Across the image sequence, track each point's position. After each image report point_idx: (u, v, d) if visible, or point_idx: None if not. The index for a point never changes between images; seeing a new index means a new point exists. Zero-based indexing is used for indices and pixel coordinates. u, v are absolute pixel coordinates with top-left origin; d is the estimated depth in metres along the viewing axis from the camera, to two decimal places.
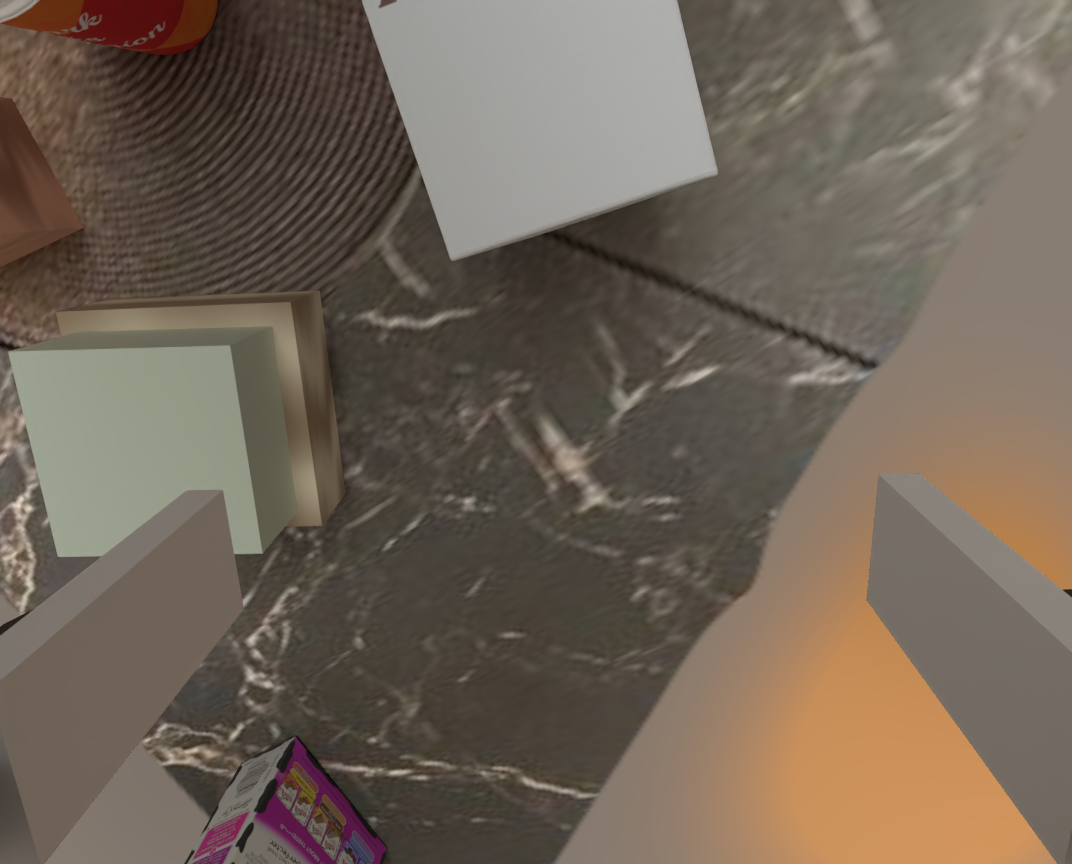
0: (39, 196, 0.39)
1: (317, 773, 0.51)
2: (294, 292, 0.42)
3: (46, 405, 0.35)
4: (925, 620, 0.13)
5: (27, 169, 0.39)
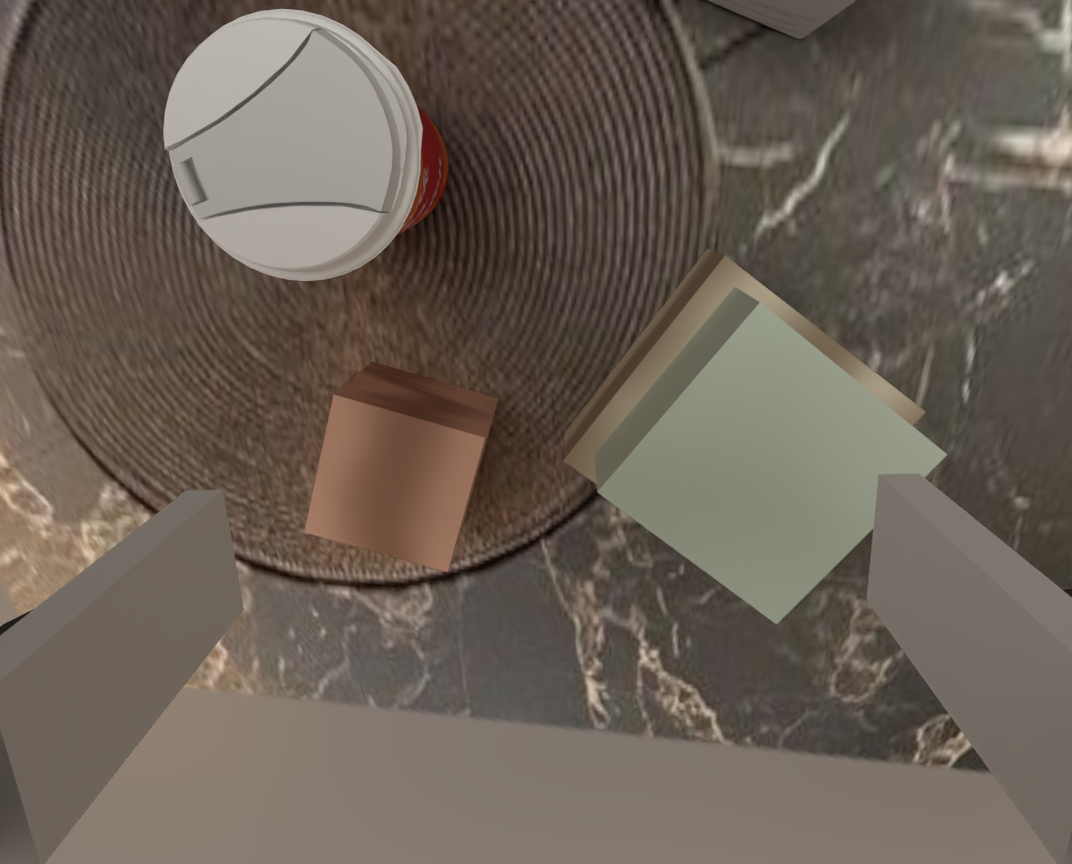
0: (461, 399, 0.39)
1: None
2: (692, 270, 0.38)
3: (661, 506, 0.32)
4: (925, 620, 0.13)
5: (435, 390, 0.39)
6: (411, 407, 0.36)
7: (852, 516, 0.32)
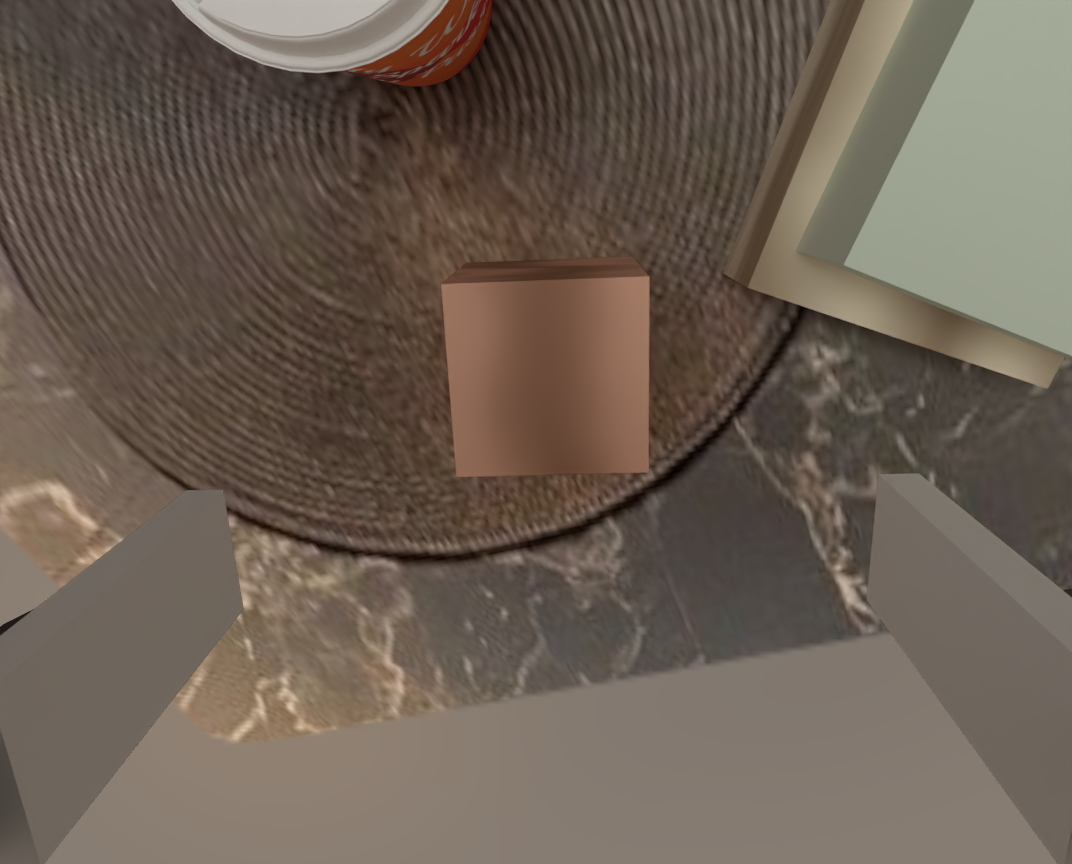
0: (590, 263, 0.30)
1: None
2: None
3: (939, 257, 0.23)
4: (925, 620, 0.13)
5: (555, 264, 0.31)
6: (540, 275, 0.27)
7: None
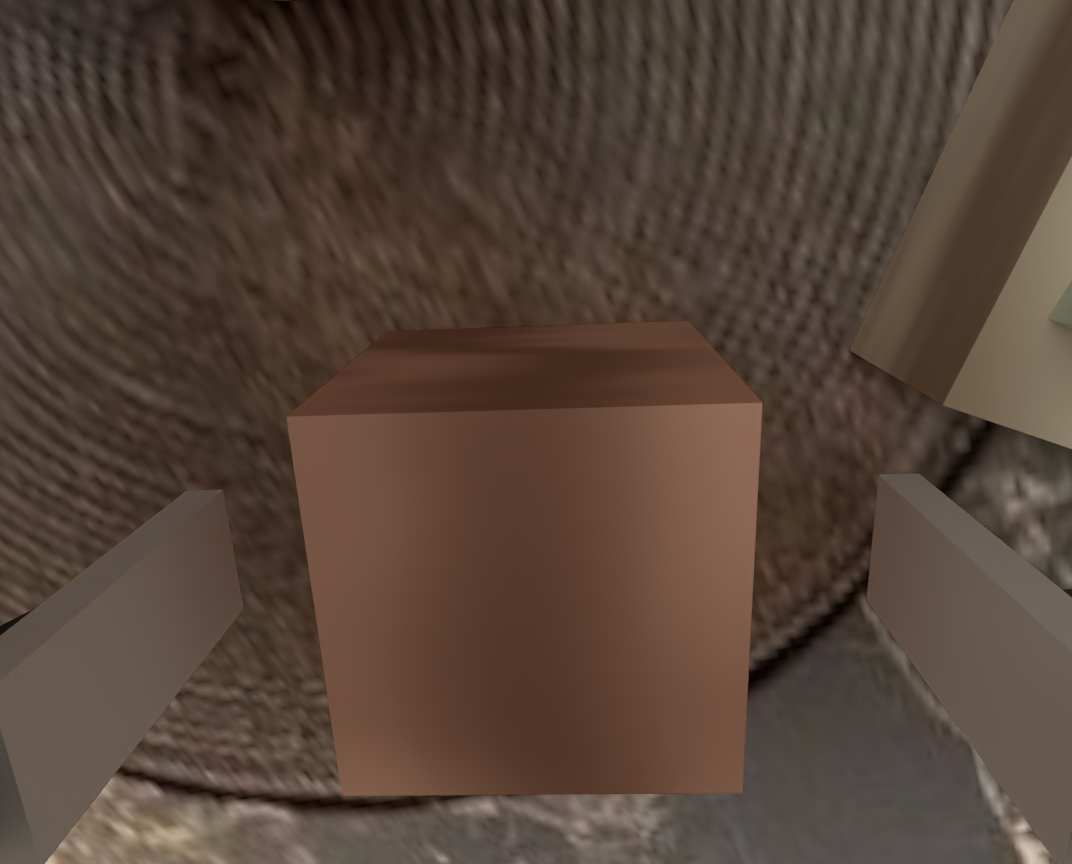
0: (617, 342, 0.16)
1: None
2: None
3: None
4: (925, 620, 0.13)
5: (548, 342, 0.16)
6: (513, 389, 0.12)
7: None
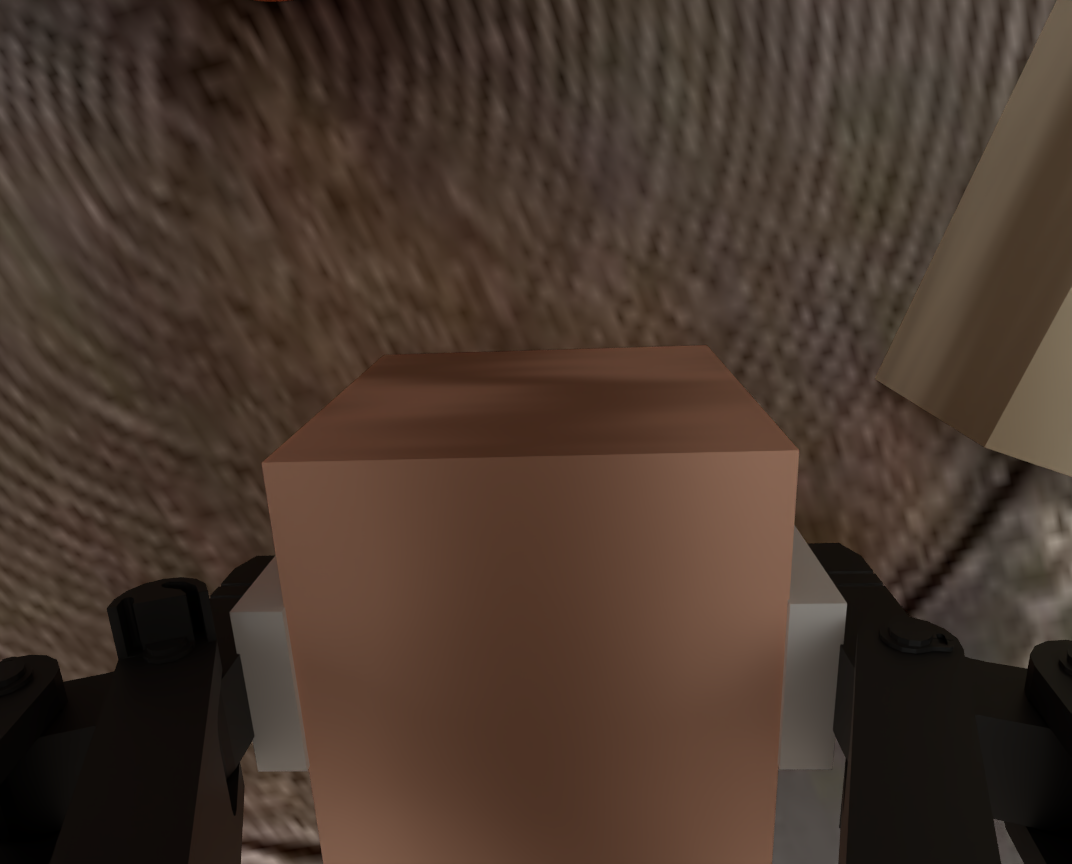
0: (630, 370, 0.14)
1: None
2: None
3: None
4: None
5: (556, 370, 0.15)
6: (518, 429, 0.11)
7: None
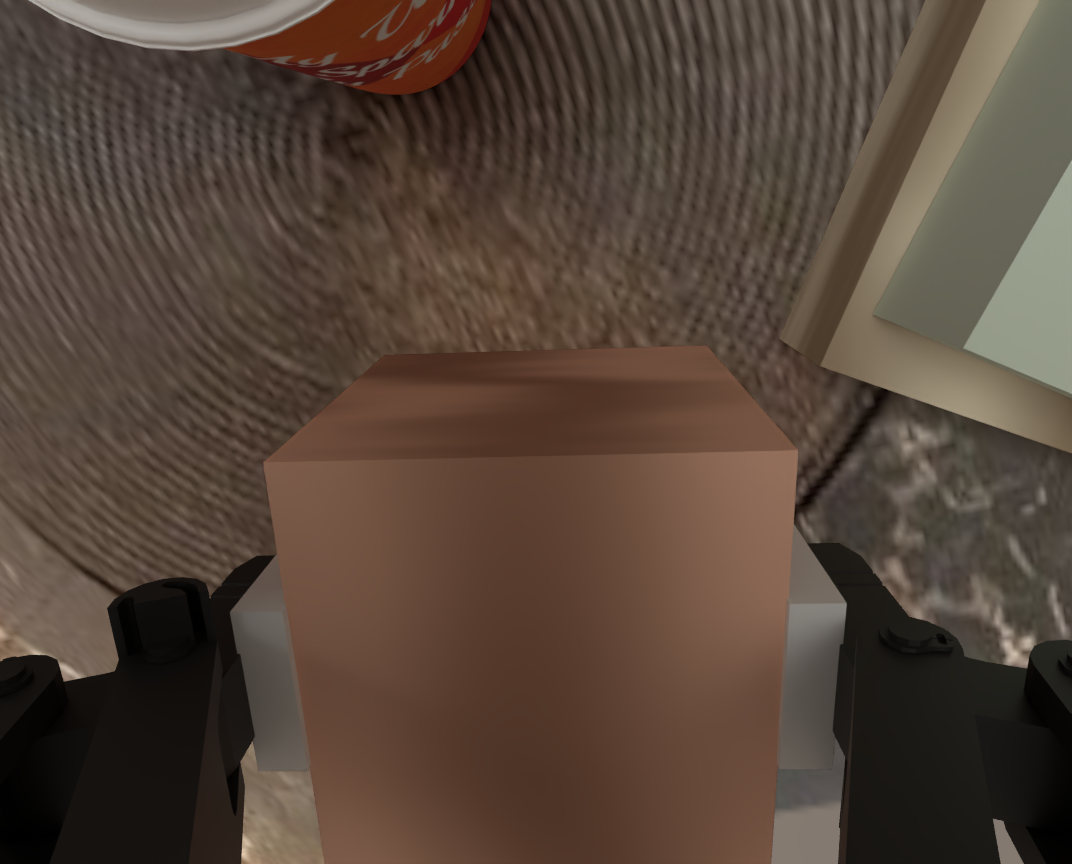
0: (630, 370, 0.15)
1: None
2: None
3: None
4: None
5: (556, 371, 0.15)
6: (518, 429, 0.11)
7: None
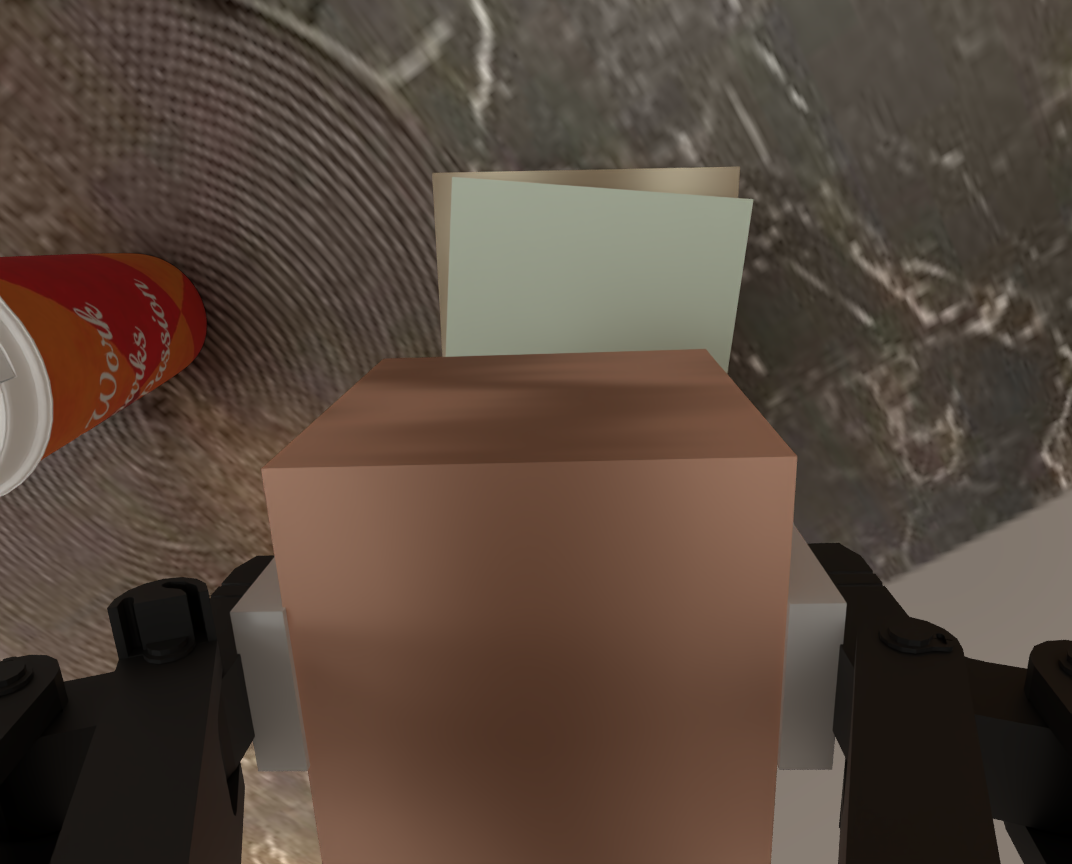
0: (628, 375, 0.14)
1: None
2: None
3: None
4: None
5: (555, 375, 0.15)
6: (516, 435, 0.11)
7: (704, 325, 0.27)
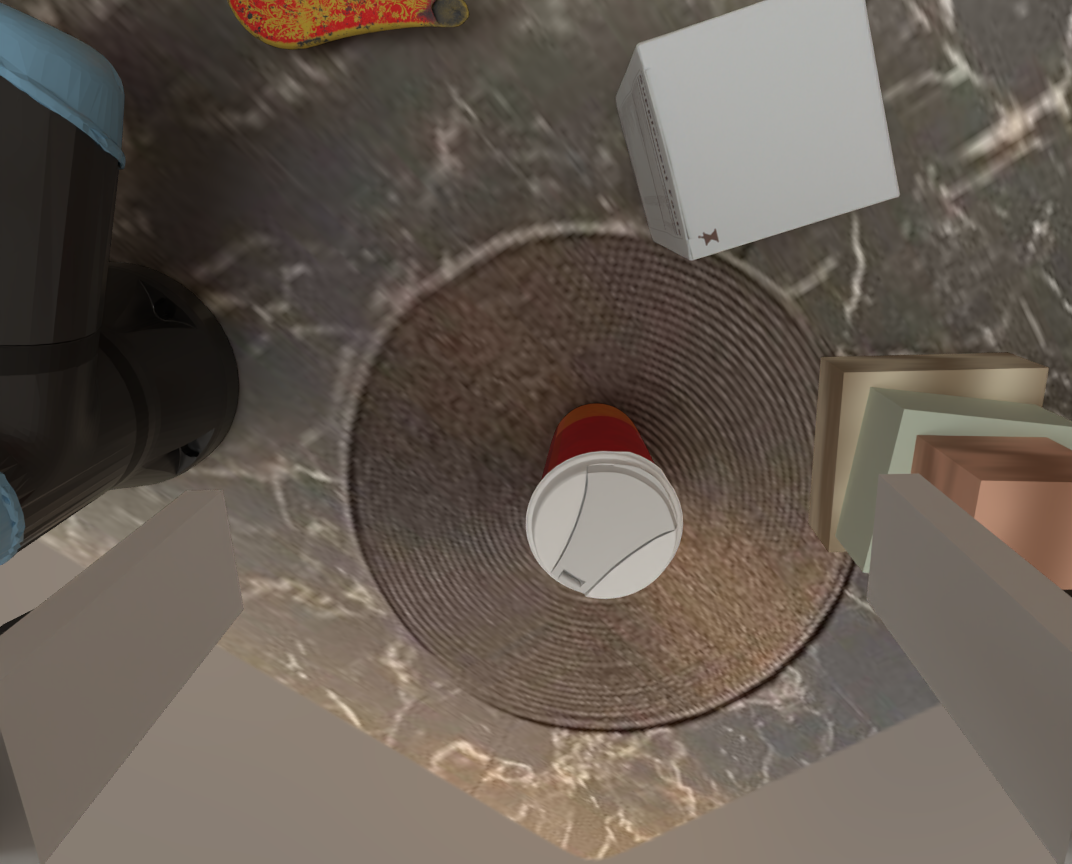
0: (1036, 449, 0.40)
1: None
2: (821, 377, 0.51)
3: None
4: (925, 620, 0.13)
5: (1007, 448, 0.40)
6: (1039, 472, 0.37)
7: None
